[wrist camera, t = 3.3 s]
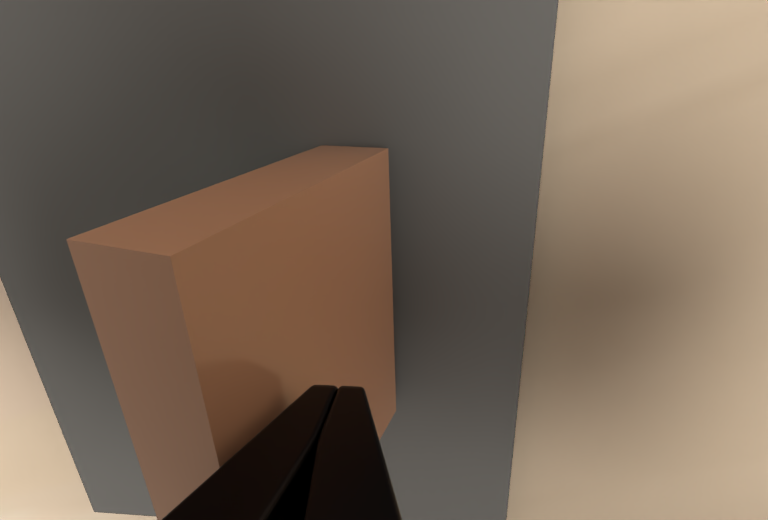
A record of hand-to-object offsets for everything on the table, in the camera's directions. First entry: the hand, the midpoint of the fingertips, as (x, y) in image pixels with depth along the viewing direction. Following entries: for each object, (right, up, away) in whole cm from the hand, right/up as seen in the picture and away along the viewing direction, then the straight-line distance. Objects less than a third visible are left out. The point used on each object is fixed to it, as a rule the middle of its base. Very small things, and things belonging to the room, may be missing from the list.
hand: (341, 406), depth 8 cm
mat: (-3, +1, +5) cm, 6 cm away
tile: (0, +2, +4) cm, 4 cm away
